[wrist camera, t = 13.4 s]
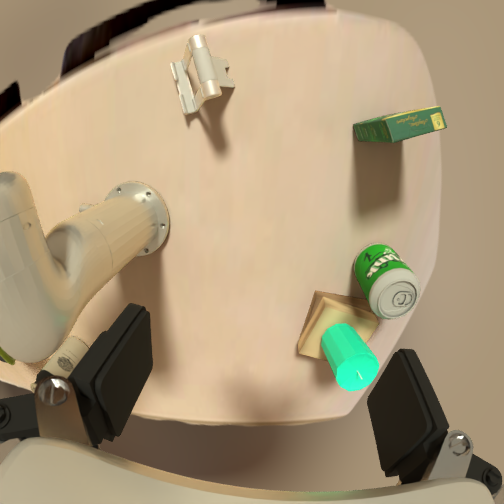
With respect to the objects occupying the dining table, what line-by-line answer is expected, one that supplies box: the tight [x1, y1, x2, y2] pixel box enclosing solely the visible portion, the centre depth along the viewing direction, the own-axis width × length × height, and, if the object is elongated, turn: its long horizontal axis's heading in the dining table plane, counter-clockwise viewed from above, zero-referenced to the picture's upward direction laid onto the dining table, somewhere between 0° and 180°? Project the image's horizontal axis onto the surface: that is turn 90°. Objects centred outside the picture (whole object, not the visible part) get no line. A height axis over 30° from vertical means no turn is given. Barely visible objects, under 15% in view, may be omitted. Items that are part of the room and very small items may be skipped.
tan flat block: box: [300, 291, 372, 338], centre depth 48 cm, size 10×10×3 cm
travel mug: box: [31, 337, 89, 393], centre depth 51 cm, size 8×8×18 cm
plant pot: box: [0, 347, 16, 365], centre depth 59 cm, size 9×9×9 cm
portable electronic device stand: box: [170, 35, 235, 115], centre depth 32 cm, size 9×8×8 cm
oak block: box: [298, 297, 379, 361], centre depth 45 cm, size 10×10×3 cm
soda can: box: [354, 243, 421, 319], centre depth 39 cm, size 8×8×12 cm
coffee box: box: [353, 106, 447, 143], centre depth 30 cm, size 8×3×13 cm, turn 111°
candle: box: [321, 323, 379, 391], centre depth 37 cm, size 6×6×12 cm
